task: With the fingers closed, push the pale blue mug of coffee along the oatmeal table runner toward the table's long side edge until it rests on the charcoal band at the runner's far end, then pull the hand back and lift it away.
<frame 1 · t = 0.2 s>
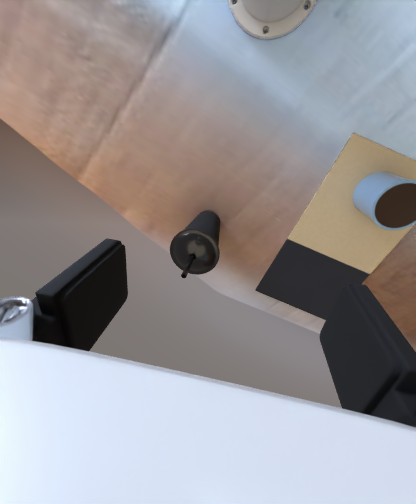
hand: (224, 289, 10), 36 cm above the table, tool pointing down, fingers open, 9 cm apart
mug: (376, 193, 41), resting on runner
drinking cup: (208, 221, 48), on the table
runner: (338, 243, 46), on the table
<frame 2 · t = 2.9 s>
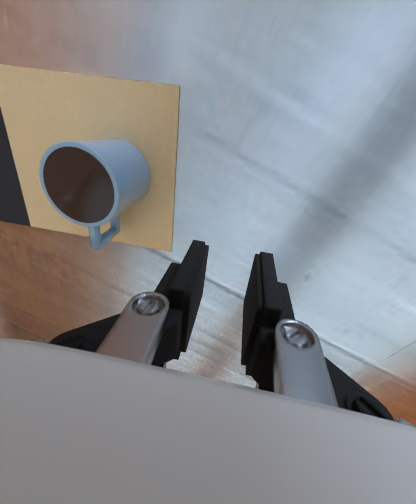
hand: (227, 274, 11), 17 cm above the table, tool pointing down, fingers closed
mug: (119, 173, 27), resting on runner
runner: (37, 160, 29), on the table
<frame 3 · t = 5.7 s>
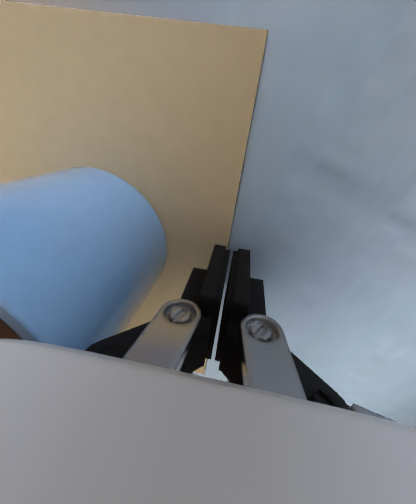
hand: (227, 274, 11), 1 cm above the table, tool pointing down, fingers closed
mug: (100, 239, 13), resting on runner, touching gripper
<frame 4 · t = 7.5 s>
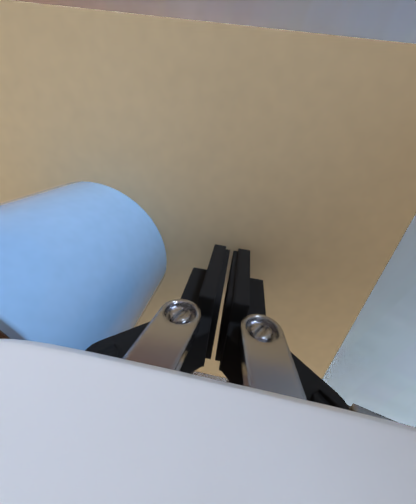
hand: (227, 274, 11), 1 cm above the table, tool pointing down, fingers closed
mug: (101, 250, 13), resting on runner, touching gripper
runner: (50, 226, 13), on the table
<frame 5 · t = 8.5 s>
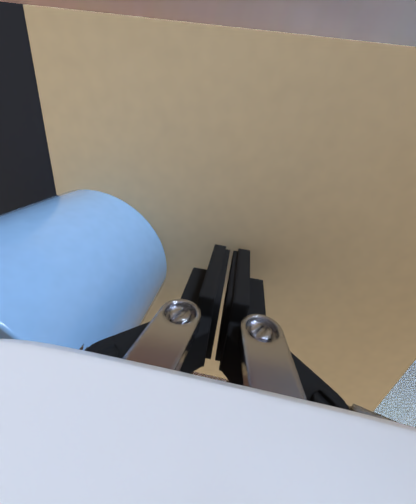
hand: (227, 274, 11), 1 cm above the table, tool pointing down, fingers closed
mug: (102, 256, 13), resting on runner, touching gripper
runner: (117, 240, 13), on the table
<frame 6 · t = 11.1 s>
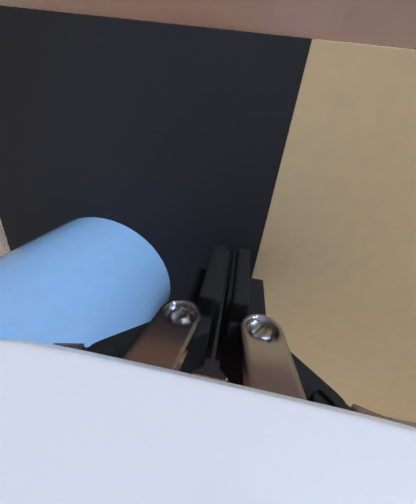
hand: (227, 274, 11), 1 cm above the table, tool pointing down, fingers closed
mug: (108, 277, 14), resting on runner, touching gripper
runner: (313, 278, 12), on the table
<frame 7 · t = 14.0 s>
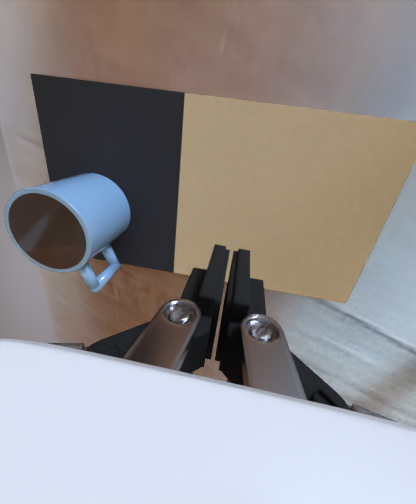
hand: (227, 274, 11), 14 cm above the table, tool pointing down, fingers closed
mug: (98, 208, 26), resting on runner
runner: (207, 201, 24), on the table
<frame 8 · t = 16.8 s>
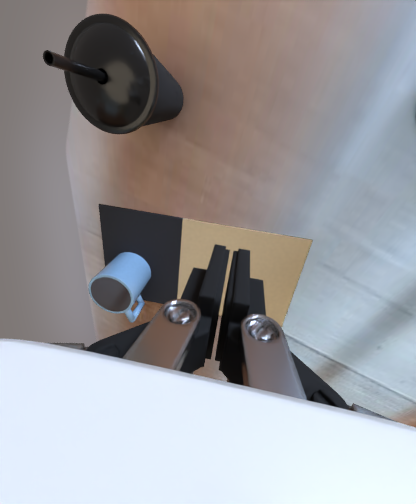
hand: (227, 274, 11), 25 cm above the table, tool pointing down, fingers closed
mug: (131, 269, 44), resting on runner
drinking cup: (165, 98, 31), on the table
runner: (196, 269, 42), on the table
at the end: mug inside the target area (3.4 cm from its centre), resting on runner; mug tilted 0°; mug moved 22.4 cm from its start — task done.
